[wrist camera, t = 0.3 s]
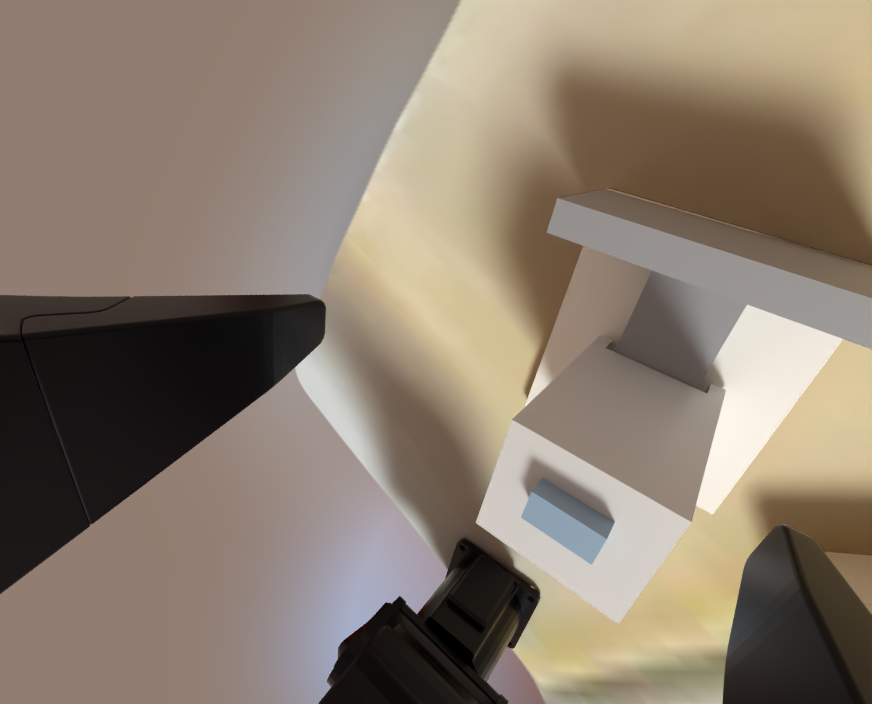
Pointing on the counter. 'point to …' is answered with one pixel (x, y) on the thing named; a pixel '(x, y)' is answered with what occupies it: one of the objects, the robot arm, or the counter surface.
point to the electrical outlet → (856, 573)
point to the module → (602, 475)
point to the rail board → (705, 313)
